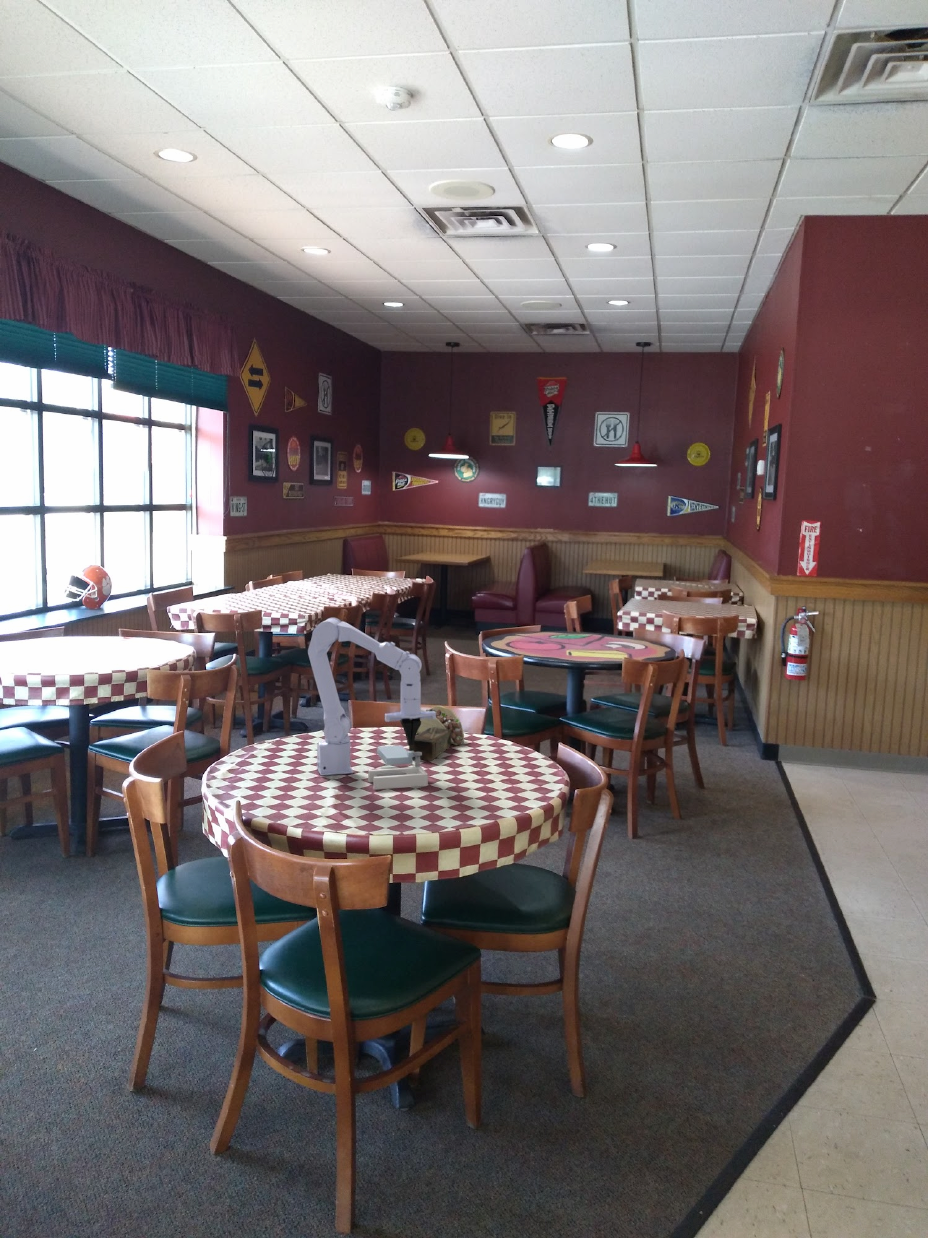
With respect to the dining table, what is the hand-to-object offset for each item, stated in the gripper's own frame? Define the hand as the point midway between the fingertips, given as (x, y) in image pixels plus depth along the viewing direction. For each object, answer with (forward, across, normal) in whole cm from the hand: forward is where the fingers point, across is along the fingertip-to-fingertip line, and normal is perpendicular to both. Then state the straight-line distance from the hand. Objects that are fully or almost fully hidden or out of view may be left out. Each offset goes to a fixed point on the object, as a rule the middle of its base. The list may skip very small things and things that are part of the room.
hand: (410, 744), depth 262 cm
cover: (+5, -3, +3) cm, 6 cm away
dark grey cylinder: (+9, -7, -8) cm, 14 cm away
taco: (+9, +17, +39) cm, 44 cm away
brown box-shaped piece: (+9, +11, +21) cm, 25 cm away
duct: (+8, -6, -8) cm, 13 cm away
